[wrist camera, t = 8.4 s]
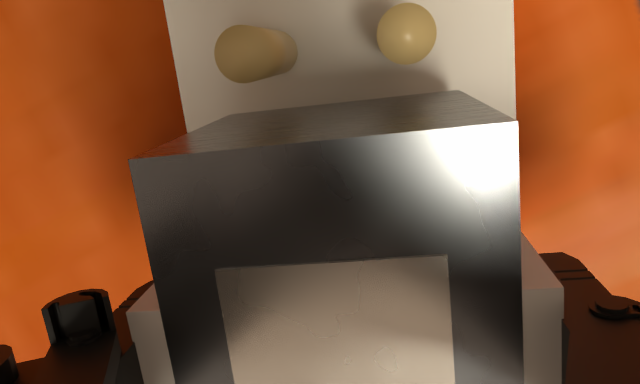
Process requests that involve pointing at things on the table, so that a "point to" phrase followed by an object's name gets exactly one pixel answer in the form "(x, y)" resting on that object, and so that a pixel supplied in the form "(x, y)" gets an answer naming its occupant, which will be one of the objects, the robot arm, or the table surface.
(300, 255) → the block
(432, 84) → the tray
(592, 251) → the table surface
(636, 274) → the table surface
